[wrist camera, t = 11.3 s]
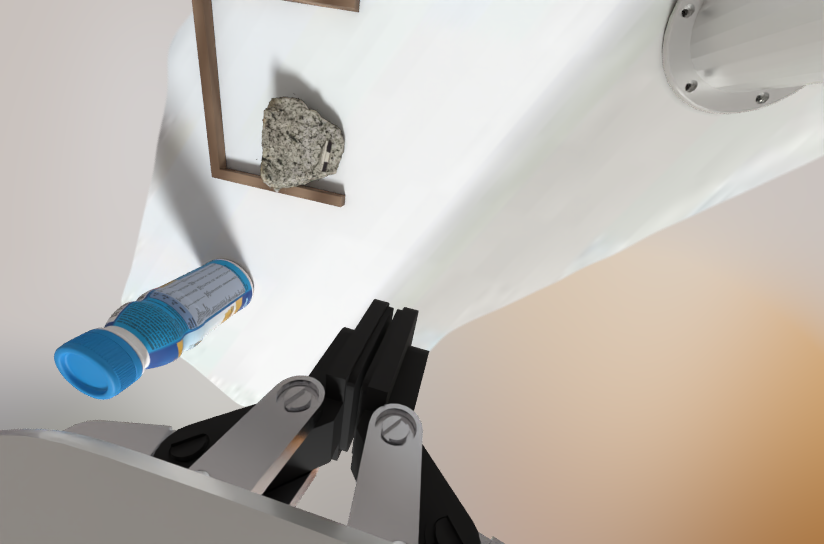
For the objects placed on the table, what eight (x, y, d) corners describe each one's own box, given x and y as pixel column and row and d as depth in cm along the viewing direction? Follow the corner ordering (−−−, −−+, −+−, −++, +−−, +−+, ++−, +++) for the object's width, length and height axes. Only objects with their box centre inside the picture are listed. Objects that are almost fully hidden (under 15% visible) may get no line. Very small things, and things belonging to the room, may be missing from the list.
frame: (359, -4, 30) (355, -9, 29) (344, 204, 39) (340, 207, 38) (197, -29, 32) (188, -34, 31) (219, 175, 41) (211, 177, 40)
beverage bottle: (253, 262, 46) (105, 350, 28) (259, 311, 50) (132, 416, 32) (201, 251, 47) (28, 330, 29) (211, 300, 51) (63, 396, 33)
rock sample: (348, 198, 35) (261, 176, 30) (323, 204, 41) (248, 186, 36) (360, 103, 35) (275, 64, 29) (334, 123, 41) (259, 94, 36)
